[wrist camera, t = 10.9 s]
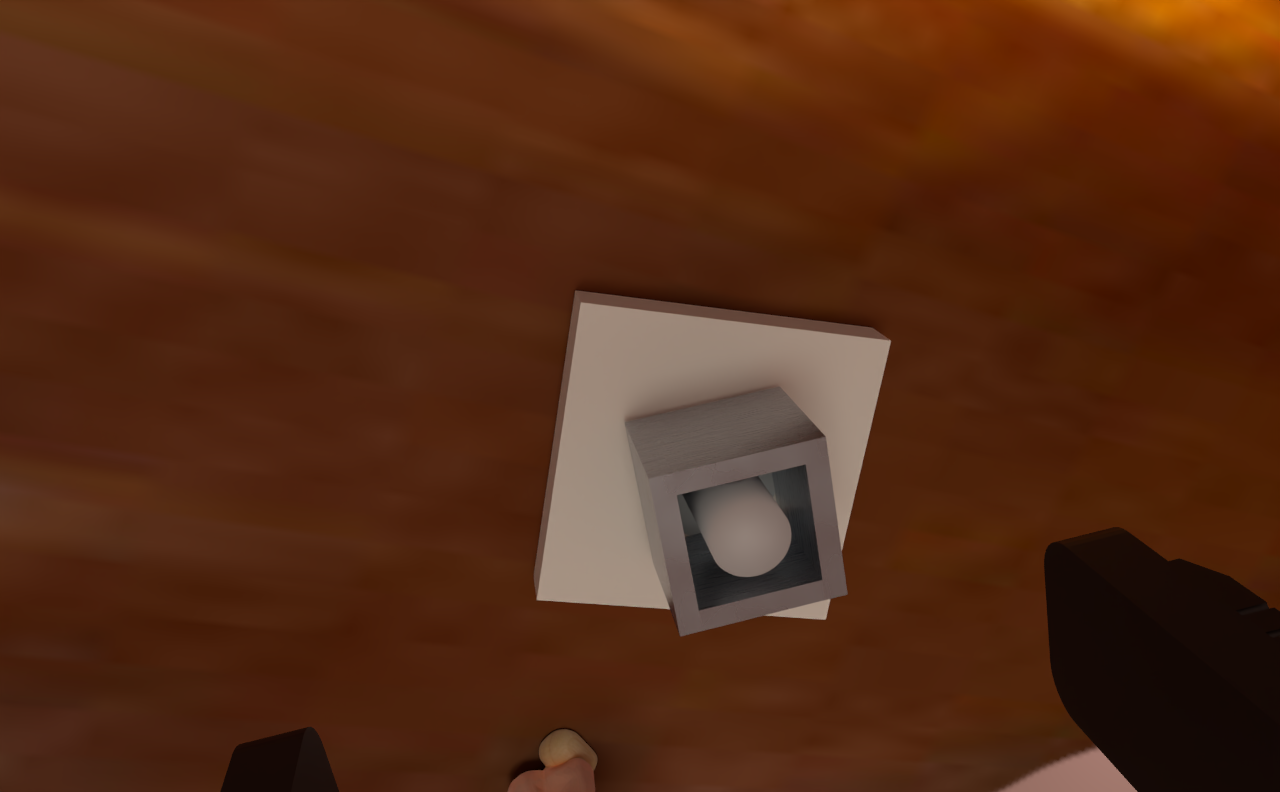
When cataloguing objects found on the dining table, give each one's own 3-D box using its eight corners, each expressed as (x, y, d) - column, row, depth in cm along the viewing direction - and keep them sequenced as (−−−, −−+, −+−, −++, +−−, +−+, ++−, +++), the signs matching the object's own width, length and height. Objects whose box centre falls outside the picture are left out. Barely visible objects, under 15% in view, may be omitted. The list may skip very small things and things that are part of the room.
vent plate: (533, 576, 44) (548, 686, 37) (575, 290, 41) (600, 346, 33) (810, 596, 46) (878, 703, 39) (872, 327, 43) (959, 388, 36)
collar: (624, 422, 40) (648, 478, 35) (779, 386, 41) (826, 436, 35) (653, 563, 42) (680, 636, 37) (800, 527, 43) (847, 594, 37)
